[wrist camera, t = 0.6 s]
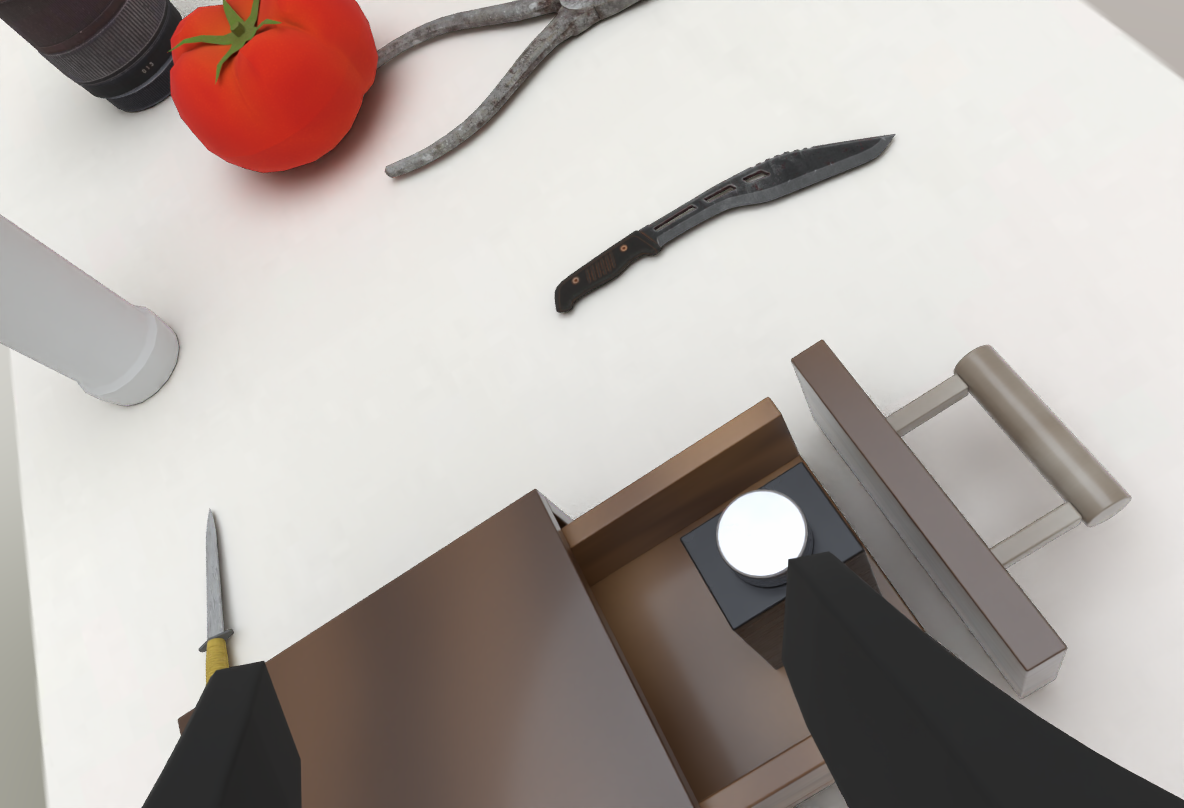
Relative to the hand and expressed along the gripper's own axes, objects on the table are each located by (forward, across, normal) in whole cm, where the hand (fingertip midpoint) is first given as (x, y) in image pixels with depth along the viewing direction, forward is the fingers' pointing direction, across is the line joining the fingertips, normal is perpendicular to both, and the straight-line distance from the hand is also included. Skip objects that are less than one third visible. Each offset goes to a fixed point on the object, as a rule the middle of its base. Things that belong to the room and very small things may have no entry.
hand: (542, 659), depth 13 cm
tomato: (+46, +6, +4) cm, 46 cm away
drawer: (+12, -10, +13) cm, 20 cm away
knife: (+27, -11, +6) cm, 30 cm away
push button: (+11, -9, +12) cm, 19 cm away
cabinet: (+11, +1, +19) cm, 22 cm away
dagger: (+23, +12, +19) cm, 32 cm away
